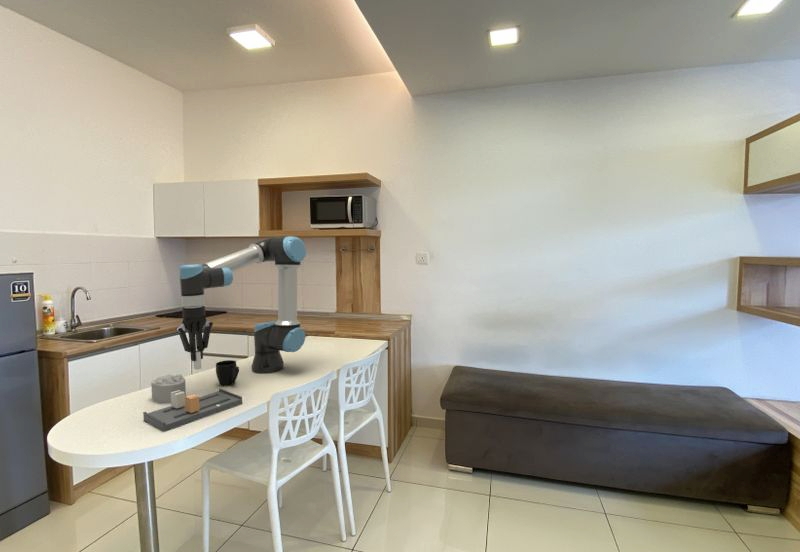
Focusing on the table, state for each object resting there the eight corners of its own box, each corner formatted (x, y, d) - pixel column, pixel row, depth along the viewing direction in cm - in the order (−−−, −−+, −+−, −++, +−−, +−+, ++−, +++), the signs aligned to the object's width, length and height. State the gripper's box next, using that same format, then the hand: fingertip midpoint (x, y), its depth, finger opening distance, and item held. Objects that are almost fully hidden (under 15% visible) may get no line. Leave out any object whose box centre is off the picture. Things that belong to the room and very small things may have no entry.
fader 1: (180, 403, 145) (179, 389, 144) (185, 405, 142) (184, 391, 142) (171, 406, 142) (170, 391, 142) (176, 408, 140) (175, 394, 139)
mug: (229, 390, 165) (228, 368, 164) (212, 385, 171) (211, 363, 170) (246, 384, 171) (245, 363, 171) (229, 379, 178) (228, 359, 177)
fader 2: (193, 407, 141) (193, 393, 140) (199, 410, 138) (199, 395, 138) (184, 410, 138) (184, 395, 138) (190, 413, 136) (190, 398, 136)
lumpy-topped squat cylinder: (175, 391, 164) (174, 370, 164) (192, 397, 157) (191, 376, 157) (148, 399, 155) (147, 377, 155) (165, 406, 148) (164, 383, 148)
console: (220, 395, 159) (220, 388, 159) (242, 403, 150) (241, 396, 150) (143, 420, 136) (143, 412, 136) (163, 431, 128) (163, 423, 127)
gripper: (205, 303, 153) (209, 362, 155) (170, 308, 142) (174, 371, 144) (216, 304, 148) (219, 365, 151) (180, 310, 138) (184, 375, 140)
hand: (197, 368), depth 148 cm, fingers closed
